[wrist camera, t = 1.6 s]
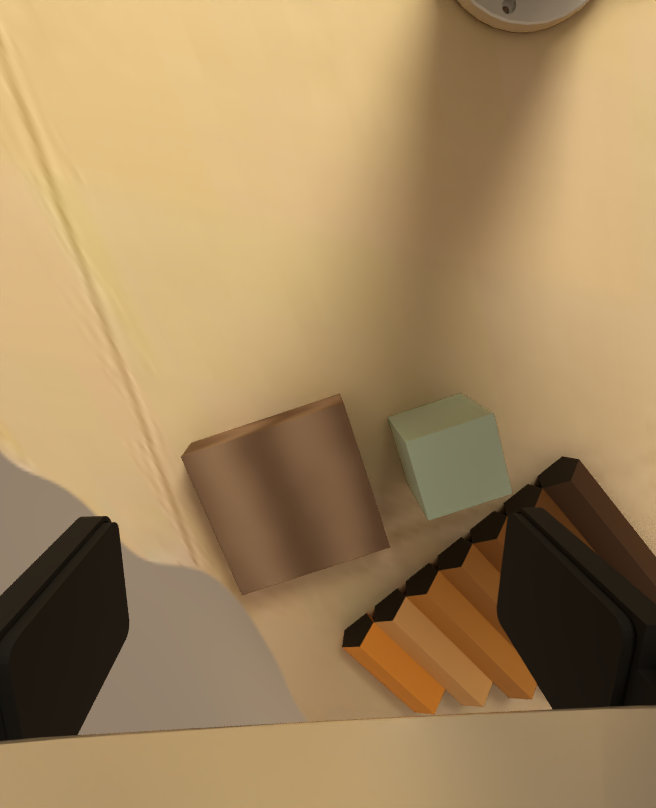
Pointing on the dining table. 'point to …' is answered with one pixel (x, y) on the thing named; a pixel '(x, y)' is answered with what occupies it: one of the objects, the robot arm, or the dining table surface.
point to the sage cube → (450, 455)
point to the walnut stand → (287, 494)
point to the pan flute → (485, 599)
